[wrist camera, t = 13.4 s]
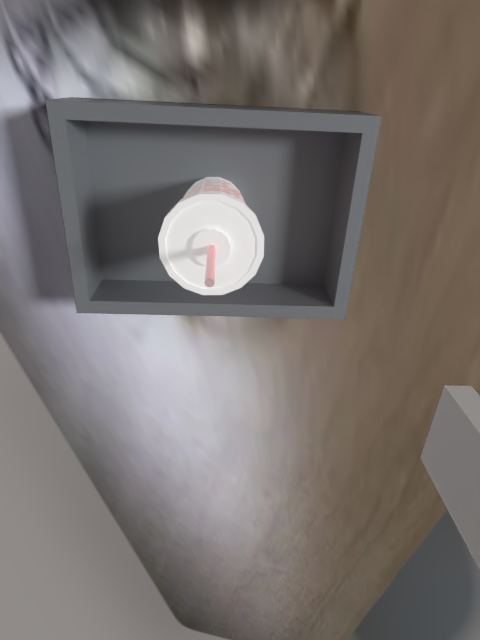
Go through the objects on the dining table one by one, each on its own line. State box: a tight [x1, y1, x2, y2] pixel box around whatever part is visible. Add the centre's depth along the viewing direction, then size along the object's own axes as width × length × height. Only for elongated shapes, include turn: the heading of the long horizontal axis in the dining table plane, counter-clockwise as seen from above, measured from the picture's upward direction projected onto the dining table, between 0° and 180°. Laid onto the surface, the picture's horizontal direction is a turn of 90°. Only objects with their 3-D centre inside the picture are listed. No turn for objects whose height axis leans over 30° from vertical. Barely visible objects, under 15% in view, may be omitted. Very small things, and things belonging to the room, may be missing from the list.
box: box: [45, 98, 382, 319], centre depth 32 cm, size 14×20×5 cm
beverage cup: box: [158, 177, 264, 295], centre depth 27 cm, size 6×6×14 cm
